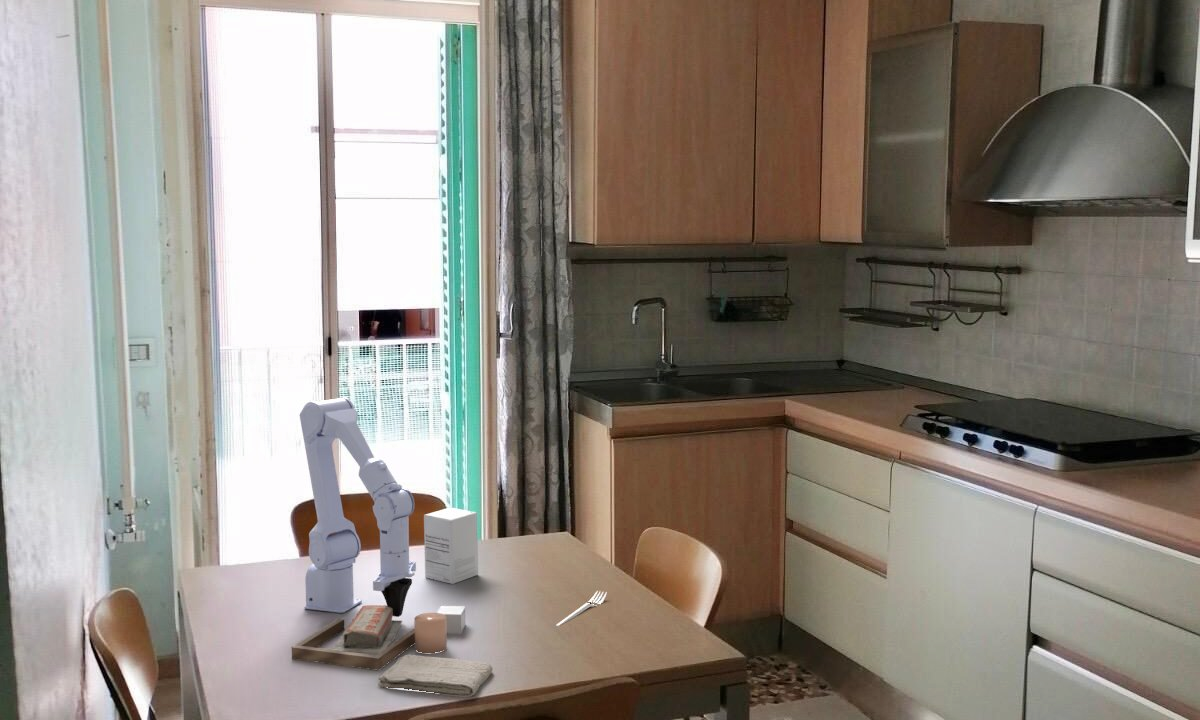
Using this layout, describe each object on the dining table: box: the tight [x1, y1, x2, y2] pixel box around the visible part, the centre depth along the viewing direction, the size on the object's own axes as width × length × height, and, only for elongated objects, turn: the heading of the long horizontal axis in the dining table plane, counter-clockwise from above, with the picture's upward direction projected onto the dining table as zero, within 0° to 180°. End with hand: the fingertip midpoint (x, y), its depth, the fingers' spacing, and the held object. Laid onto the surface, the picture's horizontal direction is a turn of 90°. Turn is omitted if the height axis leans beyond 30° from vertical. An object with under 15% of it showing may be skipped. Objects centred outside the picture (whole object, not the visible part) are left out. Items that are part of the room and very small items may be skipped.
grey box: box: [436, 605, 466, 634], centre depth 224 cm, size 5×5×4 cm
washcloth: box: [378, 654, 493, 698], centre depth 198 cm, size 12×18×3 cm, turn 78°
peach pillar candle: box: [414, 612, 448, 653], centre depth 214 cm, size 6×6×6 cm
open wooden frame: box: [291, 618, 415, 671], centre depth 213 cm, size 18×17×2 cm
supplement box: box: [423, 507, 479, 585], centre depth 259 cm, size 9×9×15 cm
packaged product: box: [331, 604, 403, 655], centre depth 218 cm, size 18×5×10 cm
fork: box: [555, 590, 608, 627], centre depth 235 cm, size 3×20×2 cm, turn 152°
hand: (395, 615), depth 228 cm, fingers closed
